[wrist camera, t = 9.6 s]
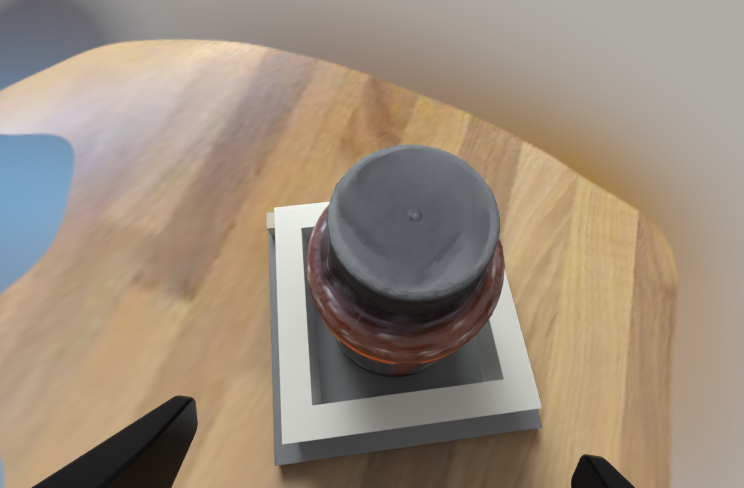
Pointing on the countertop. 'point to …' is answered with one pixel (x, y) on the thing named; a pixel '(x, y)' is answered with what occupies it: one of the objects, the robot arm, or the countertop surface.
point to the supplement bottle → (406, 259)
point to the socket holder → (375, 392)
